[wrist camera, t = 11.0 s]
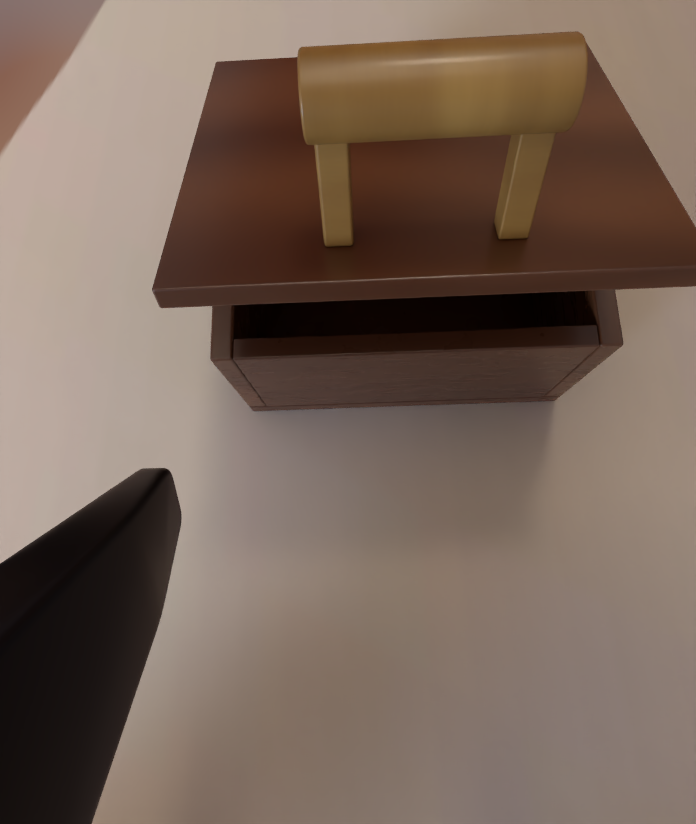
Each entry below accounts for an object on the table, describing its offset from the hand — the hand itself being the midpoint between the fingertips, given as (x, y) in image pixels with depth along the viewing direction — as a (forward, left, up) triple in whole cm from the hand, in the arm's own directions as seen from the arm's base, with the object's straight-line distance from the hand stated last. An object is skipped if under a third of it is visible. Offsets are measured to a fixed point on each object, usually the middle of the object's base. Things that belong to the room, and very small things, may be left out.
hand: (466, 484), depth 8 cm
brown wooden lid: (+7, -7, -5) cm, 11 cm away
